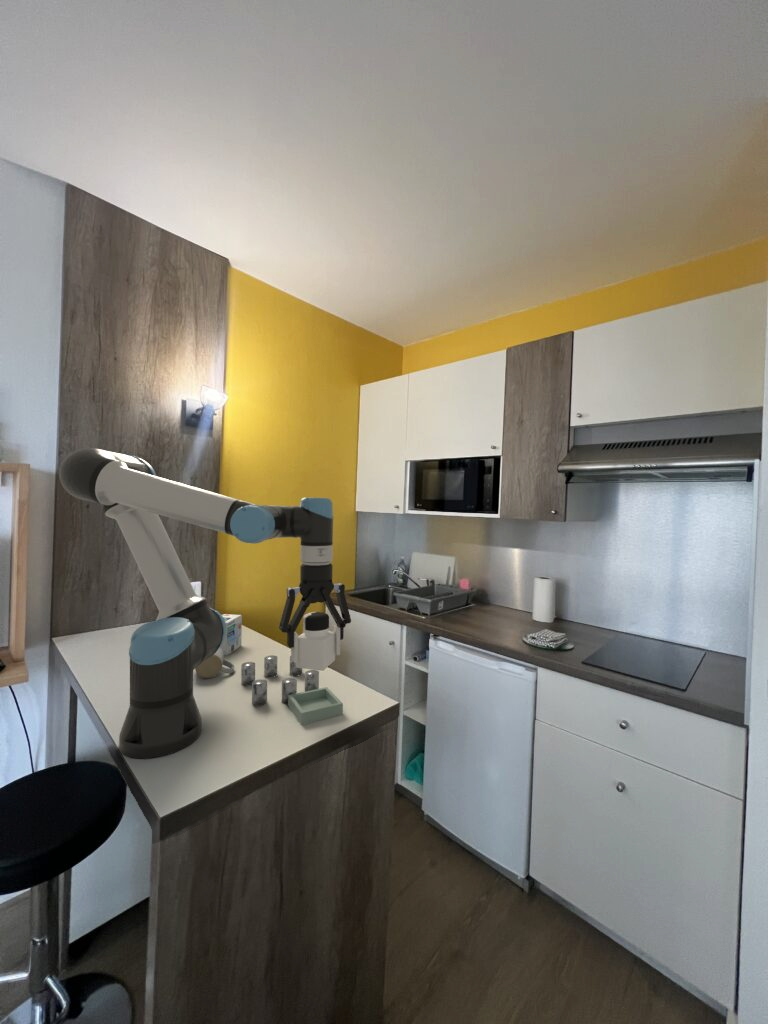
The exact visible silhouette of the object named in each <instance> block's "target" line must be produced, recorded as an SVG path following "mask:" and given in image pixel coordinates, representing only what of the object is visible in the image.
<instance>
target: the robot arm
mask: <svg viewBox="0 0 768 1024" xmlns="http://www.w3.org/2000/svg"><path fill="white" fill-rule="evenodd" d="M58 476H59V481H60V484H61V486H62V487H63V489H64V490H65V491H66V492H67V493H68V494H69V495H70V496H72V497H73V498H76V499H79V500H83V501H87V502H93V503H96V504H100V506H101V508H102V510H103V512H104V515H105V517H108V518H111V519H113V520H115V521H116V522H117V525H118V527H119V529H120V531H121V533H122V535H123V538H124V539H125V542H126V544H127V546H128V548H129V550H130V552H131V554H132V557H133V558H134V559H133V560H134V561H135V563H136V565H137V568H138V569H139V572H140V573H141V576H142V578H143V580H144V583H145V584H146V586H147V589H148V590H149V591H148V592H149V593H150V596H151V597H152V599H153V601H154V603H155V605H156V608H157V610H158V615H157V617H156V619H155V620H152V621H149V622H147V623H145V624H142V625H140V626H139V627H138V628H136V630H134V631H133V633H132V634H131V637H130V644H129V645H130V646H129V648H128V656H129V706H128V710H127V714H126V716H125V719H124V722H123V724H122V727H121V729H120V732H119V737H118V738H119V739H118V749H119V751H120V753H121V752H122V753H121V754H123V755H124V756H127V757H129V758H134V759H150V758H157V757H163V756H166V755H170V754H172V753H175V752H178V751H180V750H182V749H184V748H186V747H188V746H189V745H192V744H193V743H194V742H195V741H196V740H197V739H198V738H199V737H200V735H201V734H202V729H203V720H202V715H201V713H200V710H199V708H198V704H197V701H196V699H195V696H194V671H195V668H196V667H198V666H199V665H200V664H201V663H203V662H204V661H205V660H206V659H208V658H210V657H211V656H213V655H214V654H215V653H216V652H217V651H218V649H219V648H220V647H221V645H222V644H223V642H224V640H225V637H226V623H225V620H224V618H223V616H222V615H223V614H222V613H220V612H219V611H218V610H216V609H213V608H212V607H210V606H209V603H208V601H207V599H206V597H204V596H202V595H201V596H200V595H197V593H196V591H195V590H194V588H193V585H192V583H191V580H190V579H189V577H188V575H187V572H186V570H185V568H184V566H183V564H182V562H181V560H180V558H179V556H178V553H177V551H176V549H175V547H174V545H173V543H172V541H171V539H170V537H169V534H168V532H167V530H166V528H165V526H164V524H163V521H162V519H161V518H160V516H161V517H166V518H168V519H173V520H176V521H180V522H184V523H187V524H190V525H191V524H192V525H195V526H198V527H201V528H204V529H205V528H206V529H209V530H212V531H215V532H216V531H217V532H218V533H219V532H220V533H223V534H227V535H228V536H229V535H230V536H233V537H234V538H236V539H237V541H240V542H242V543H245V544H259V543H263V542H265V541H268V540H272V539H276V538H279V539H280V538H283V539H284V538H285V539H286V538H294V539H295V538H296V539H297V538H300V562H301V564H300V567H299V569H300V572H299V573H300V576H299V577H300V582H299V585H298V586H297V587H290V586H288V587H287V588H286V601H285V604H284V607H283V611H282V615H281V618H280V622H279V626H278V629H279V630H280V631H281V632H282V633H285V634H287V635H286V645H287V647H289V649H290V653H291V654H290V656H291V660H292V661H293V662H294V663H297V662H298V636H299V634H298V633H297V632H296V630H297V629H298V626H299V625H300V622H301V621H302V620H303V617H304V615H305V613H306V611H307V609H308V608H309V607H310V605H312V604H317V603H321V604H322V603H324V605H325V606H326V608H327V610H328V611H329V613H330V616H331V617H332V619H333V620H334V622H335V625H334V624H333V625H332V631H334V632H335V656H340V655H341V641H342V640H343V639H344V628H345V627H346V626H347V625H348V624H351V622H352V619H351V614H350V611H349V607H348V603H347V599H346V595H345V593H346V592H345V591H346V585H345V584H343V583H340V582H337V583H334V582H333V570H334V569H333V566H334V565H333V563H331V562H333V561H334V560H333V551H334V550H333V549H334V547H333V544H334V543H333V537H334V516H333V515H334V513H333V501H332V500H331V499H330V498H327V497H302V498H301V500H300V504H299V505H293V506H292V505H290V506H289V505H267V504H264V505H263V504H262V505H260V504H256V503H252V502H249V501H245V500H241V499H238V498H234V497H230V496H227V495H223V494H219V493H216V492H213V491H209V490H205V489H202V488H199V487H196V486H191V485H187V484H184V483H182V482H177V481H174V480H169V479H167V478H163V477H160V476H157V474H156V471H155V469H154V468H153V467H152V465H150V463H149V462H147V461H146V460H144V459H143V458H140V457H138V456H135V455H134V454H129V453H120V452H114V451H110V450H104V449H100V448H97V447H96V448H94V447H90V448H89V447H86V448H80V449H77V450H74V451H72V452H71V453H69V454H68V455H67V456H66V457H65V458H63V461H61V464H60V466H59V470H58ZM333 590H334V591H333ZM332 592H335V594H336V599H337V604H338V606H339V607H338V608H339V610H340V613H339V611H338V610H337V607H336V605H335V604H334V601H333V599H332V597H331V593H332ZM299 593H300V595H301V599H300V600H299V604H298V606H297V608H296V610H295V612H294V613H293V610H294V605H295V602H296V598H297V597H298V594H299ZM292 613H293V616H292ZM340 614H341V615H340ZM291 616H292V617H291Z"/></svg>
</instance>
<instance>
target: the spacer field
mask: <svg viewBox="0 0 768 1024" xmlns="http://www.w3.org/2000/svg"><path fill="white" fill-rule="evenodd" d="M263 658H264V665H263V674H264V675H263V676H264V677H265V678H267V677H272V678H275V677H277V676H278V656H277V655H267V656H264V657H263ZM240 674H241V675H240V678H241V683H240V684H241V685H242V686H251V705H252V706H254V707H261V706H264V705H266V704H267V703H268V680H267V679H256V662H254V661H247V662H243V663H242V664H241V673H240ZM301 674H302V675H303V668H297V667H296V663H294V662H293V661H292V660H291V655H290V656H289V675H290V676H291V675H293V676H292V677H287V678H283V679H282V680H281V704H283V705H288V695H292V694H296V693H298V692H297V688H298V687H297V686H298V685H297V684H298V679H296V678H295V677H299V676H298V675H300V676H301ZM276 675H277V676H276ZM274 676H275V677H274ZM319 685H320V670H313V669H308V670H306V671H305V672H304V692H306V691H311V690H315V689H320V686H319Z"/></svg>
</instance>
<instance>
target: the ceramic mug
mask: <svg viewBox="0 0 768 1024" xmlns="http://www.w3.org/2000/svg"><path fill="white" fill-rule="evenodd" d="M224 657H225V655H224V654H223V651H222V649H221V648H219V649H218V651H217V652H216V653H215V654H214V655H213V656H211V657H210V658H208V659H206V660H205V661H204V662H203V663H201V664H200V665H199V666H198V667H196V668H195V669H194V671H195V672H196V674H197V676H199V677H200V678H202V679H211V678H212V679H213V678H214V677H216V676H217V675H219V674H220V673H223V674H228V675H229V674H230V675H231V674H233V672H234V670H235V669H236V668H235V665H234V663H232V662H231V661H229V660H227V659H225V658H224Z"/></svg>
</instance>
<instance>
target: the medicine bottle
mask: <svg viewBox="0 0 768 1024" xmlns="http://www.w3.org/2000/svg"><path fill="white" fill-rule="evenodd" d="M302 621H303V622H302V633H301V634H298V662H297V663H296V667H297V668H302V669H305V670H317V671H325V670H326V669H327V668H328V667H329V666H331V664H333V663H334V661H335V660H336V654H335V632H334V631H333V630H330V616H329V614H328V613H325V612H322V611H312V612H308V613H306V614H304V615H303V617H302Z"/></svg>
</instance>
